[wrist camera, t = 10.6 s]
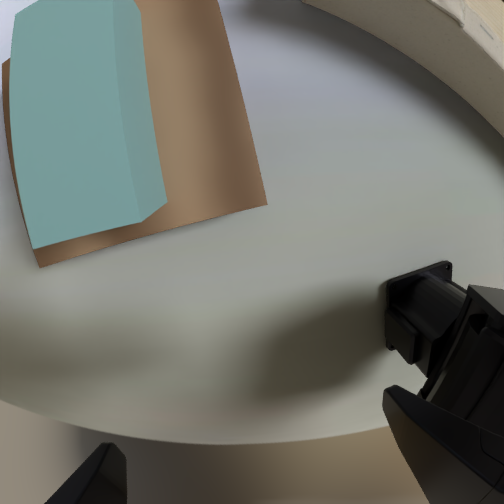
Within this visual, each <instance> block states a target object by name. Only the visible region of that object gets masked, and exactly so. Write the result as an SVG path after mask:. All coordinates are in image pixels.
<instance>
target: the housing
mask: <svg viewBox="0 0 504 504" xmlns="http://www.w3.org/2000/svg"><path fill="white" fill-rule="evenodd" d="M9 102H10V125H11V137H12V147H13V156H14V164H15V170H16V177H17V183H18V188H19V194H20V199H21V203H22V208H23V213H24V217H25V221H26V225H27V229H28V233H29V237H30V240H31V244H32V247H33V249H36V248H40V247H43V246H47V245H50V244H54V243H58V242H62V241H65V240H69V239H73V238H77V237H81V236H85V235H89V234H93V233H97V232H101V231H105V230H109V229H113V228H117V227H122V226H126V225H130V224H135V223H139V222H142V221H143V220H145V219H146V218H147V217H149V216H150V215H151V214H152V213H154V212H155V211H156V210H158V209H159V208H160V207H162V206H163V205H164V204H166V203H167V197H166V192H165V187H164V182H163V177H162V171H161V166H160V160H159V155H158V149H157V143H156V137H155V131H154V125H153V118H152V112H151V105H150V98H149V90H148V83H147V74H146V66H145V56H144V47H143V36H142V23H141V12H140V10H139V9H138V7H137V5H136V3H135V2H134V0H38V1H37V2H35V3H33V4H32V5H30V6H28V7H27V8H25V9H23V10H22V11H20V12H19V13H17V14H15V21H14V28H13V36H12V45H11V57H10V79H9Z"/></svg>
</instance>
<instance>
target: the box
mask: <svg viewBox="0 0 504 504" xmlns="http://www.w3.org/2000/svg"><path fill="white" fill-rule="evenodd" d="M302 2H303V3H306V4H309V5H312V6H314V7H317V8H319V9H321V10H324V11H326V12H328V13H330V14H333V15H335V16H337V17H339V18H341V19H343V20H345V21H347V22H350V23H352V24H353V25H355V26H357V27H359V28H361V29H363V30H365V31H367V32H369V33H370V34H372V35H374V36H376V37H377V38H379V39H381V40H383V41H384V42H386V43H388V44H389V45H391V46H393V47H394V48H396V49H397V50H399V51H401V52H402V53H404V54H405V55H407V56H408V57H410V58H411V59H413V60H414V61H416V62H417V63H419V64H420V65H421V66H423V67H424V68H426V69H427V70H428V71H430V72H431V73H432V74H434V75H435V76H436V77H438V78H439V79H440V80H442V81H443V82H444V83H445V84H447V85H448V86H449V87H450V88H452V89H453V90H454V91H455V92H456V93H458V94H459V95H460V96H461V97H462V98H463V99H465V100H466V101H467V102H468V103H469V104H470V105H471V106H472V107H473V108H475V109H476V110H477V111H478V112H479V113H480V114H481V115H482V116H483V117H484V118H485V119H486V120H487V121H488V122H489V123H490V124H491V125H492V126H493V127H494V128H495V129H496V130H497V131H498V132H499V133H500V134H501V135H502V137H503V138H504V0H302Z"/></svg>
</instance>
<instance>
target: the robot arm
mask: <svg viewBox="0 0 504 504" xmlns="http://www.w3.org/2000/svg"><path fill="white" fill-rule="evenodd" d="M446 267H447V268H446ZM394 284H395V286H394V287H393V288H392V286H393V285H394ZM386 295H387V308H386V310H385V337H386V347H387V348H388V349H389V350H390V351H392V350H395V349H396V350H397V351H398V352H399V353H400V355H401V356H402V357H403V358H404V359H405V361H406V362H407V363H408V364H410V365H412V364H414V363H415V365H416V366H417V367H418V368H419V369H420V370H421V372H422V373H423V374H424V375H425V376H426V377H427V378H428V379H427V381H426V382H425V384H424V386H423V388H421V389H420V391H419V392H418V394H417V395H415V394H413V393H411V392H409V391H407V390H405V389H404V388H402V387H400V386H398V385H393V386H391V387H388V388H386V389H385V390H384V392H383V403H382V407H383V411H384V413H385V416H386V418H387V421H388V423H389V425H390V428H391V430H392V433H393V435H394V438H395V440H396V442H397V445H398V447H399V449H400V451H401V453H402V454H403V456H404V458H405V460H406V462H407V463H408V465H409V467H410V468H411V470H412V472H413V474H414V476H415V478H416V479H417V481H418V483H419V485H420V487H421V488H422V490H423V492H424V494H425V495H426V498H427V499H428V501H429V503H430V504H504V290H503V289H497V288H490V287H484V286H477V285H470V284H469V285H468V288H467V290H466V289H464V288H463V287H461V286H459V285H458V284H456V283H455V282H453V281H452V263H451V262H449V261H443V262H440V263H438V264H435V265H432V266H429V267H427V268H424V269H421V270H418V271H415V272H412V273H409V274H406V275H404V276H401V277H398V278H395V279H392V280H390V281H389V282H388V283H387V286H386ZM126 471H127V470H126V457H125V455H124V454H123V453H122V452H121V451H120V449H119V448H118V447H117V446H116V445H115V444H114V443H112V442H103V443H101V444H100V445H99V446H98V447H97V448H96V449H95V451H94V452H93V453H92V454H91V455H90V456H89V457H88V458H87V459H86V460H85V462H83V463H82V465H81V466H80V467H79V468H78V469H77V470H76V471H75V472H74V473H73V474H72V475H71V476H70V477H69V478H68V479H67V480H66V481H65V482H64V484H63V485H62V486H61V487H60V488H59V489H58V490H57V491H56V492H55V493H54V494H53V495H52V496H51V497H50V498H49V499H48V500H47V502H45V503H44V504H127V473H126Z"/></svg>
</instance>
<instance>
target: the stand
mask: <svg viewBox="0 0 504 504" xmlns="http://www.w3.org/2000/svg"><path fill="white" fill-rule="evenodd" d="M134 2H135V3H136V5H137V7H138V9H139V10H140V12H141V23H142V36H143V47H144V56H145V66H146V74H147V83H148V90H149V98H150V105H151V112H152V118H153V125H154V131H155V137H156V143H157V149H158V155H159V160H160V166H161V171H162V177H163V182H164V187H165V192H166V197H167V203H166V204H164V205H163V206H162V207H160V208H159V209H158V210H156V211H155V212H154V213H152V214H151V215H150V216H149V217H147V218H146V219H145V220H143V221H142V222H139V223H135V224H130V225H126V226H122V227H117V228H113V229H109V230H105V231H101V232H97V233H93V234H89V235H85V236H81V237H77V238H73V239H69V240H65V241H62V242H58V243H54V244H50V245H47V246H43V247H40V248H36V249H33V251H34V254H35V256H36V259H37V262H38V265H39V267H40V268H42V267H45V266H48V265H51V264H54V263H58V262H61V261H64V260H67V259H70V258H73V257H76V256H80V255H83V254H86V253H89V252H93V251H96V250H99V249H102V248H106V247H109V246H112V245H116V244H119V243H123V242H126V241H130V240H133V239H137V238H140V237H144V236H147V235H151V234H154V233H158V232H162V231H165V230H169V229H173V228H176V227H180V226H184V225H187V224H191V223H195V222H199V221H203V220H207V219H211V218H214V217H218V216H222V215H226V214H230V213H235V212H239V211H243V210H247V209H251V208H255V207H259V206H264V205H268V204H267V200H266V195H265V191H264V186H263V182H262V177H261V173H260V169H259V164H258V160H257V155H256V151H255V147H254V143H253V138H252V134H251V130H250V126H249V121H248V117H247V113H246V109H245V105H244V101H243V97H242V93H241V89H240V85H239V81H238V77H237V73H236V69H235V65H234V61H233V57H232V53H231V49H230V45H229V42H228V38H227V34H226V30H225V26H224V23H223V19H222V15H221V12H220V8H219V4H218V1H217V0H134ZM9 79H10V58H9V59H8V60H7V61H5V62H4V63H3V64H2V93H3V109H4V121H5V130H6V138H7V145H8V152H9V158H10V163H11V169H12V174H13V179H14V183H15V188H16V192H17V196H18V200H19V204H20V208H21V212H22V215H23V219H24V223H25V226H26V229H27V225H26V221H25V217H24V213H23V208H22V203H21V199H20V194H19V188H18V183H17V177H16V170H15V164H14V156H13V147H12V137H11V125H10V102H9ZM27 232H28V229H27ZM28 236H29V233H28ZM29 239H30V237H29ZM30 242H31V240H30ZM31 245H32V244H31ZM32 248H33V247H32Z"/></svg>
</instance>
